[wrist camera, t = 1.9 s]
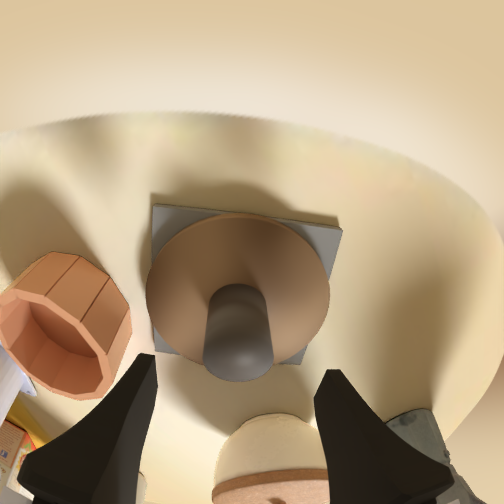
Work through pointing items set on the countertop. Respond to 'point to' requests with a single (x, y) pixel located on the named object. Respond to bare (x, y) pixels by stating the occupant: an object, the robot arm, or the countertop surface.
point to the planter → (65, 325)
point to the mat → (178, 217)
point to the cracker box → (13, 456)
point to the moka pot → (432, 450)
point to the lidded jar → (272, 463)
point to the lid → (237, 294)
